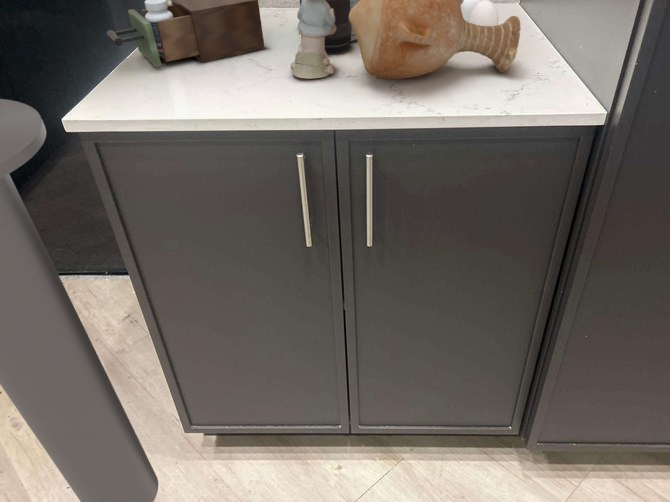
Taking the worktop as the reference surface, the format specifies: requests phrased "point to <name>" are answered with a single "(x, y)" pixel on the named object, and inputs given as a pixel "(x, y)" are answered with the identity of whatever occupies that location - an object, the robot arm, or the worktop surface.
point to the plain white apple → (468, 8)
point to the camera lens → (339, 28)
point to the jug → (425, 36)
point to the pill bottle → (157, 17)
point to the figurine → (313, 39)
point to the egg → (484, 14)
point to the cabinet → (224, 27)
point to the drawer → (161, 35)
